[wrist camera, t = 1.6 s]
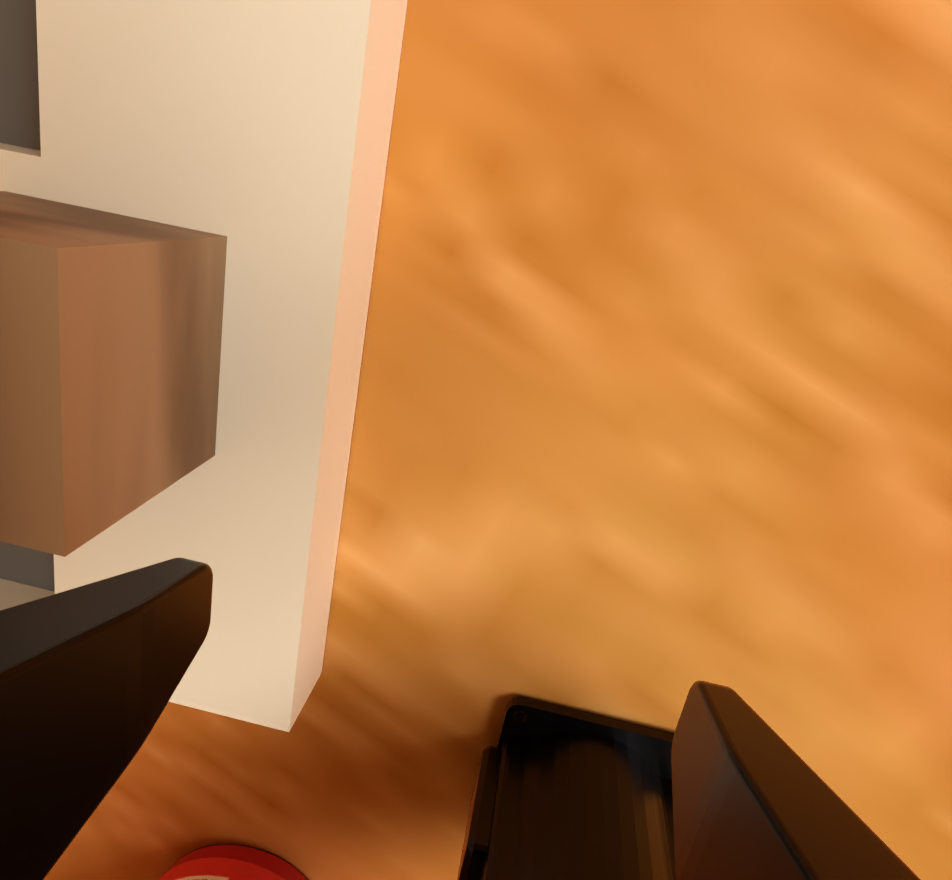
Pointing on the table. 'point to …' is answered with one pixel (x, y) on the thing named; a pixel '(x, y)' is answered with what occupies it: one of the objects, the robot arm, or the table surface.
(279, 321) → the trap deck
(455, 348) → the table surface
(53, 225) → the walnut block
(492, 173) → the table surface
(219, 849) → the canned food
